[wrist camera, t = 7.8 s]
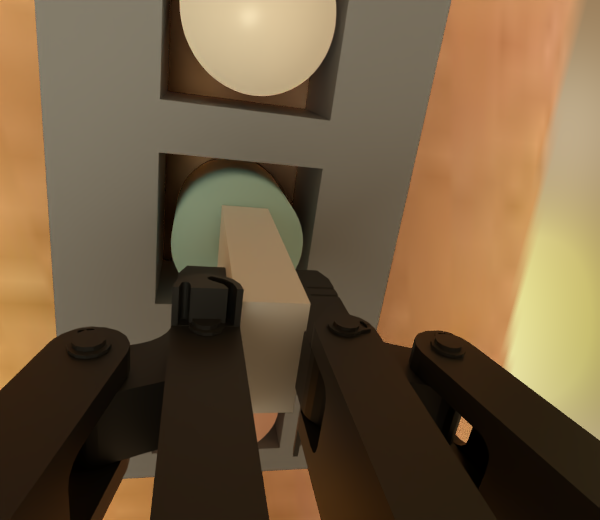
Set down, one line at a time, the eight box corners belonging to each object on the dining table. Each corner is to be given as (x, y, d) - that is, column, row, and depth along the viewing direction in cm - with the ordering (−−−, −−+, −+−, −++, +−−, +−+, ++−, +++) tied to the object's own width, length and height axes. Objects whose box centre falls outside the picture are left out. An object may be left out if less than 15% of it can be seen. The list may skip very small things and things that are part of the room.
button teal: (174, 257, 20) (168, 301, 16) (178, 151, 18) (173, 174, 14) (277, 262, 21) (293, 305, 17) (290, 163, 19) (311, 187, 15)
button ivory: (181, 79, 17) (176, 85, 13) (187, -62, 15) (183, -100, 12) (298, 95, 18) (323, 104, 14) (315, -36, 16) (348, -63, 13)
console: (87, 414, 23) (66, 481, 19) (64, -150, 14) (20, -220, 11) (324, 408, 25) (345, 466, 22) (416, -68, 17) (474, -102, 14)
